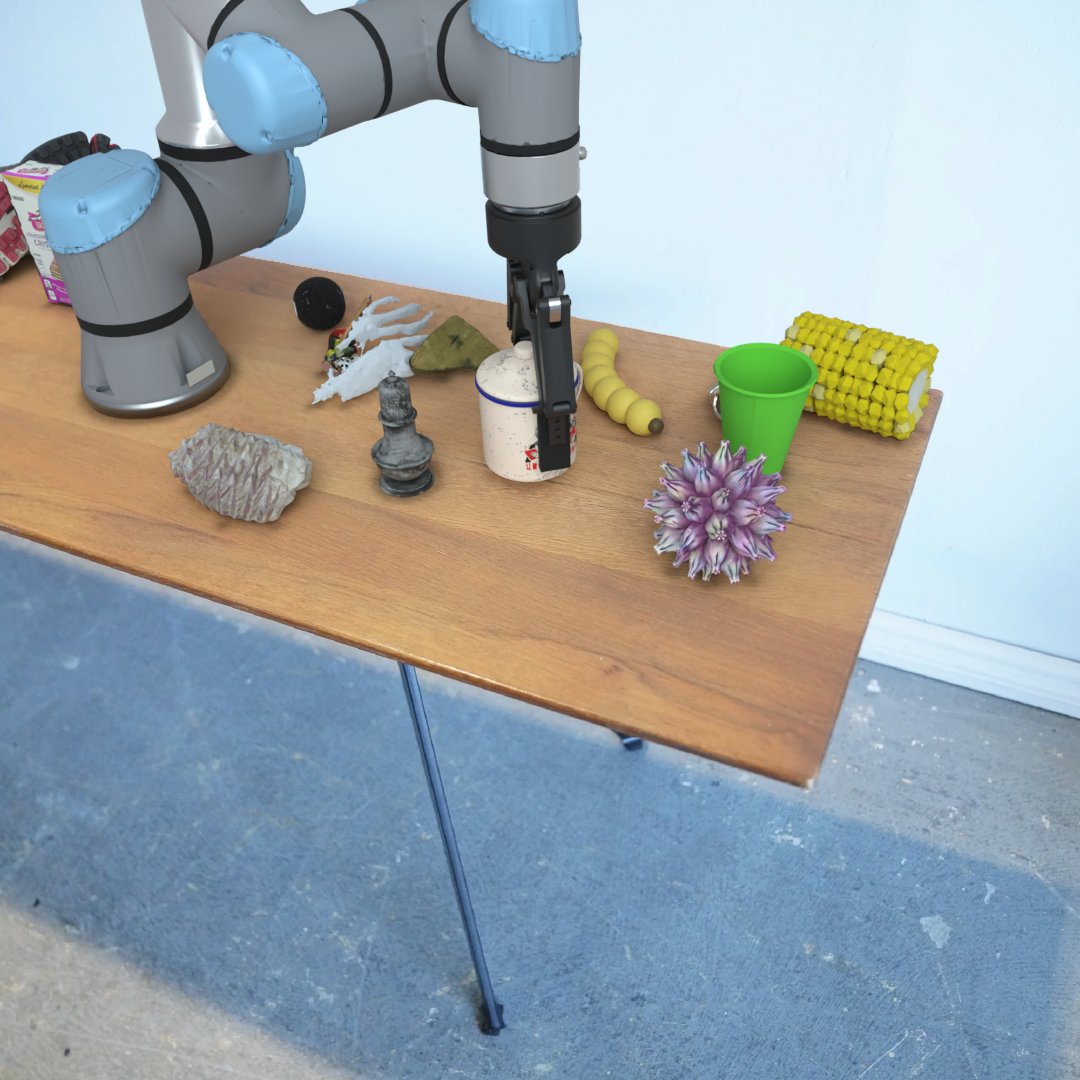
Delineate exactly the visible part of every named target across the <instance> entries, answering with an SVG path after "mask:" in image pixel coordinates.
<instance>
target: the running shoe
mask: <svg viewBox="0 0 1080 1080" xmlns="http://www.w3.org/2000/svg"><path fill="white" fill-rule="evenodd" d="M111 140H112V139H111V138H110V137H109V136H108V135H106V134H104V133H95V134H93V136H92V137H91V139H90V140H89V138H88V136H87V134H86V133H85V132H84V131H82V130H77V131H74V132H69V133H66V134H62V135H60V136H57V137H54V138H51V139H49V140H47V141H44V142H43V143H41V144H40V145H38V146H37V147H35V148H33V149H32V150H30V151H29V152H28V153H27V154H25V156H23V158H22V159H21V160H20V161H19V162H17V163H14V164H9V165H3V166H0V282H2V281H3V277H4V275H5V273H7V272H8V271H9V270H10V268H11V267H13V266H14V265H16V264H17V263H18V262H19V261H20V260H21V259H23V258H25V257H26V256H28V255H31V252H30V250H29V247H28V244H27V242H26V239H25V236H24V234H23V232H22V229H21V226H20V223H19V221H18V218H17V215H16V213H15V210H14V208H13V205H12V202H11V200H10V197H9V194H8V192H7V189H6V187H5V184H4V181H3V178H2V176H1V174H2V173H4V172H5V171H7V170H9V169H13V168H14V167H16V166H18V165H21V164H23V163H25V162H27V161H30V160H31V161H37V162H43V163H49V164H56V165H62V166H66V165H68V164H70V163H72V162H74V161H76V160H78V159H80V158H83V157H86V156H89V155H92V154H96V153H100V152H101V153H103V154H105V153H108V152H110V151H111V150H117V149H122V147H121V146H120V145H118V144H117V143H111Z"/></svg>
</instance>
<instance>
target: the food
mask: <svg viewBox="0 0 1080 1080" xmlns="http://www.w3.org/2000/svg"><path fill="white" fill-rule="evenodd" d="M784 332H785V333H784V339H783V340H781V341H779V345H784V346H788V347H791V348H794V349H796V350H798V351H800V352H802V353H804V354H806V355H807V356H808V357H810V358H811V359H812V360H813V362H814V363H815V364H816V366H817V369H818V374H819V375H818V379H817V381H816V382H815V384H814V385H813V386H812V387H811V388H810V391H809V393H808V396H807V399H806V402H805V405H804V408H803V410H804V411H807V412H811V413H816V415H817V416H818V417H827V418H829V420H831V421H833V420H836V421H837V422H839V423H841V424H845V423H846V424H849V425H850V427H853V428H854V427H858V428H860V429H861V430H866V431H871V432H873V433H874V434H876V433H879V434H880V435H881V436H882V437H883V438H887V437H894V438H896V439H897V440H899V441H902V440H905V439H909V438H910V436H911V433H912V432H913V431H914V430H915V429H916V425H917V423H918V422H919V421H920V419H921V418H922V416H923V415H924V412H923V409H924V408H926V407H928V406H929V402H930V401H929V400H930V395H929V394H928V392H929V390H930V389H931V385H932V377H931V375H933V373H934V371H935V368H934V364H935V362H936V361H937V358H938V354H939V353H940V350H939V349H938V348H937V347H936V345H935V344H934V343H928V344H926V343H925V342H924V341H922V340H918V339H917V340H916V339H915V338H914V337H913V338H907V337H906V335H897V334H896V335H895V333H894V332H892V331H886V330H883V329H882V328H878V327H868V326H866V325H865V324H863V323H861V324H857V323H854V322H851V321H850V320H845V319H840V318H839V317H837V316H835V317H828V316H826V315H824V314H822V313H813V312H812V311H810V310H807V311H806V310H805V311H803V312H801V313H800V315H799V316H795V317H794V318H793V321H792V325H789V326H788V327H787V328H786V329H785V331H784ZM803 410H802V411H803Z"/></svg>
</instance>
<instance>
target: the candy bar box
mask: <svg viewBox="0 0 1080 1080" xmlns="http://www.w3.org/2000/svg"><path fill="white" fill-rule="evenodd" d="M62 167H64V166H62V165H56V164H49V163H43V162H37V161H31V160H30V161H27V162H25V163H23V164H21V165H18V166H16V167H14V168H13V169H9V170H7V171H5V172H4V173H2V174H1V176H2V178H3V181H4V184H5V187H6V189H7V192H8V194H9V197H10V200H11V202H12V205H13V208H14V210H15V213H16V215H17V218H18V221H19V223H20V226H21V229H22V232H23V234H24V236H25V239H26V242H27V244H28V247H29V250H30V252H31V254H30V255H31V258H32V260H33V263H34V265H35V268H36V271H37V274H38V276H39V278H40V282H41V284H42V286H43V289H44V292H45V295H46V298H47V300H48V302H49V303H53V304H57V305H58V304H59V305H63V306H67V307H72V304H71V301H70V299H69V296H68V293H67V290H66V288H65V285H64V282H63V279H62V277H61V274H60V271H59V269H58V266H57V263H56V261H55V258H54V255H53V253H52V250H51V248H50V247H49V245H48V243H47V241H46V238H45V231H44V226H43V222H42V218H41V215H40V211H39V207H38V196H39V193H40V190H41V189H42V187H43V184H44V183H45V182H46V180H47V179H48V178H49V177H50V176H51V175H52V174H54V173H55V172H56V171H58V170H59V169H61V168H62Z"/></svg>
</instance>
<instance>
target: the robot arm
mask: <svg viewBox="0 0 1080 1080" xmlns="http://www.w3.org/2000/svg"><path fill="white" fill-rule="evenodd" d="M578 1H579V0H357V1H356V2H355V4H353V5H351V6H347V7H342V8H337V9H333V10H331V11H326V12H321V13H317V14H316V13H313V12H312V11H310V10H309V8H308V7H307V6H306V5H305V4H304V3H303V2H302V0H140V4H141V9H142V13H143V17H144V22H145V25H146V29H147V34H148V38H149V43H150V47H151V51H152V56H153V60H154V64H155V68H156V73H157V77H158V81H159V86H160V90H161V94H162V98H163V99H162V100H163V102H164V106H165V111H164V113H163V115H162V116H161V118H160V120H159V121H158V122H157V124H156V125H155V128H154V129H155V131H154V132H155V136H156V141H157V144H158V149H159V154H160V155H159V156H157V157H154V158H153V157H152V156H151V155H150V154H149V153H147V152H145V151H142V150H139V149H131V148H121V149H117V150H111V151H110V152H108V153H105V154H103V153H101V152H100V153H96V154H92V155H89V156H86V157H83V158H80V159H78V160H76V161H74V162H72V163H70V164H68V165H66V166H64V167H62V168H61V169H59V170H58V171H56V172H55V173H54V174H52V175H51V176H50V177H49V178H48V179H47V180H46V182H45V183H44V184H43V187H42V189H41V190H40V193H39V196H38V207H39V211H40V215H41V218H42V222H43V226H44V231H45V238H46V241H47V243H48V245H49V247H50V248H51V250H52V253H53V255H54V258H55V261H56V263H57V266H58V269H59V271H60V274H61V277H62V279H63V282H64V285H65V288H66V290H67V293H68V296H69V299H70V301H71V304H72V306H71V307H72V310H73V313H75V314H74V315H75V317H76V321H77V323H78V326H79V330H80V386H81V388H82V391H83V394H84V397H85V398H86V402H87V403H88V404H89V406H90V407H91V408H92V409H93V410H95V411H97V413H101V414H102V415H106V416H108V417H109V416H110V417H113V418H119V419H131V420H133V419H151V418H156V417H162V416H167V415H172V414H174V413H178V412H181V411H184V410H187V409H189V408H190V409H191V408H192V407H194V406H196V405H198V404H200V403H202V402H204V401H206V400H207V399H209V398H210V397H212V396H213V395H215V394H216V393H217V392H218V391H219V390H220V389H221V388H222V387H223V386H224V384H225V383H226V382H227V380H228V377H229V375H230V367H229V362H228V359H227V354H226V351H225V349H224V348H223V346H222V344H221V343H220V341H219V339H218V338H217V337H216V335H215V333H213V331H212V329H211V327H209V325H208V324H207V322H206V321H205V319H204V318H203V316H202V314H201V313H200V311H199V310H198V309H197V307H196V305H195V301H194V299H193V295H192V291H191V287H190V283H189V280H188V278H189V277H191V276H192V275H194V274H196V273H199V272H201V271H204V270H207V269H209V268H211V267H215V266H216V265H219V264H221V263H223V262H226V261H229V260H231V259H234V258H236V257H239V256H241V255H244V254H245V253H248V252H251V251H253V250H256V249H262V248H264V247H267V246H269V245H271V244H273V242H274V241H275V240H277V239H279V238H281V237H284V236H286V235H288V234H289V233H291V232H292V231H293V230H294V229H295V227H296V226H297V225H298V224H299V222H300V221H301V219H302V216H303V214H304V210H305V206H306V199H307V198H306V197H307V186H306V185H307V184H306V178H305V171H304V168H303V165H302V162H301V159H300V157H299V156H297V155H295V153H294V152H295V149H296V148H304V147H308V146H310V145H312V144H314V143H316V142H317V141H318V142H319V140H320V139H323V138H325V137H329V136H330V135H333V134H336V133H339V132H341V131H344V130H346V129H349V128H352V127H354V126H357V125H359V124H362V123H366V122H368V121H372V120H377V119H379V118H382V117H383V118H384V117H385V116H388V115H391V114H395V113H396V112H400V111H402V110H405V109H407V108H408V109H409V108H411V107H414V106H416V105H419V104H422V103H425V102H428V101H435V100H436V101H443V102H447V103H451V104H456V105H460V106H463V107H469V108H474V109H475V108H476V109H477V115H478V124H479V149H480V150H479V151H480V152H479V153H480V165H481V178H482V192H483V195H484V197H486V198H487V200H486V202H485V203H484V204H485V205H484V209H485V210H484V211H485V212H484V213H485V225H486V237H487V238H486V239H487V244H488V246H489V248H490V249H491V251H492V252H493V253H495V254H496V255H498V256H500V257H502V258H505V260H506V328H508V331H509V332H510V331H511V335H510V342H511V343H512V347H515V345H516V344H517V343H518V342H521V341H531V342H532V349H533V357H534V364H535V372H536V380H537V387H538V395H539V405H536V406H532V407H531V409H532V413H533V414H537V433H538V456H539V469H540V471H541V472H547V471H553V470H559V469H565V468H568V469H570V468H571V467H572V465H571V454H570V414H574V413H576V414H577V412H578V404H577V401H576V395H575V382H574V368H573V362H574V357H573V343H572V341H573V340H572V328H571V327H572V326H571V316H572V315H571V314H572V313H571V311H572V310H571V308H572V307H571V306H572V299H571V298H570V294H568V293H567V294H564V293H565V291H566V278H565V272H564V270H563V269H559V268H558V262H559V261H560V260H561V259H562V258H563V257H564V256H566V255H569V254H570V253H571V254H572V253H573V251H575V250H576V249H577V248H578V247H579V246H580V243H581V241H582V234H583V233H582V200H581V198H580V196H579V195H578V194H579V193H580V190H581V167H580V161H584V160H586V159H587V157H588V150H587V148H586V146H583V145H582V146H581V141H580V140H581V139H580V138H581V126H580V87H581V86H580V85H581V84H580V83H581V48H582V46H583V41H582V40H583V36H582V32H581V30H580V28H581V26H580V16H579V15H580V14H579V13H580V12H579V2H578Z"/></svg>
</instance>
